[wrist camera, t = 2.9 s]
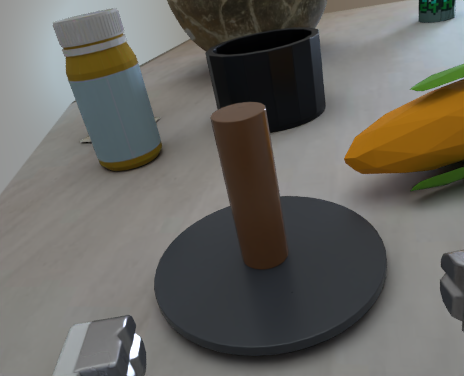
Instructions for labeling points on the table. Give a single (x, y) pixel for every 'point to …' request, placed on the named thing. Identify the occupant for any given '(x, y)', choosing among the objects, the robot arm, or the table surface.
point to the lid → (267, 257)
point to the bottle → (109, 89)
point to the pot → (271, 74)
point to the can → (436, 10)
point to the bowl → (242, 17)
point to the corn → (417, 134)
